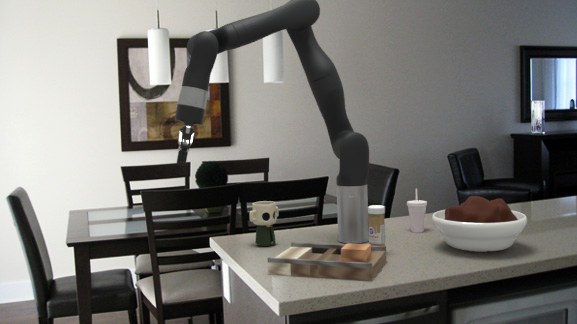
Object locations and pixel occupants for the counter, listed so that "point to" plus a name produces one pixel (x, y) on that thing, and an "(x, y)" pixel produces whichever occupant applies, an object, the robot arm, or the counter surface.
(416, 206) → the smoothie
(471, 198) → the chocolate pudding bowl
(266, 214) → the character mug
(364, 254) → the terracotta block
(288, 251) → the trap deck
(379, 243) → the sprinkles bottle
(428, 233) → the counter surface
